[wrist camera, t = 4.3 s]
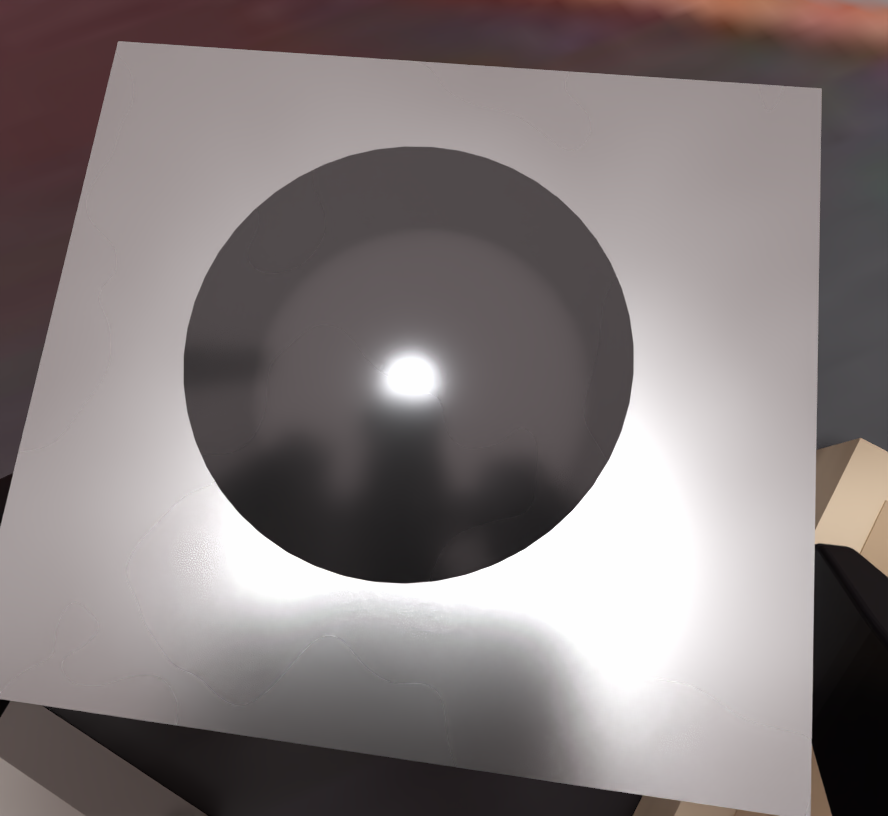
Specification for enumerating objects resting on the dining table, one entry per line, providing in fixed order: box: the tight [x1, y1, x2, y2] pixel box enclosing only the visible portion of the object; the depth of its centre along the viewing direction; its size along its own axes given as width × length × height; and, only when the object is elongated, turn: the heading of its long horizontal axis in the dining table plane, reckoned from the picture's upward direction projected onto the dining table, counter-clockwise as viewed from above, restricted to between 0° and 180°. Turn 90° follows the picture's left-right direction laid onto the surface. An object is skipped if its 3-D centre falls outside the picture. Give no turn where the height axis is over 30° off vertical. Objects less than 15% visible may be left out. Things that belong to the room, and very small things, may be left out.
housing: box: [0, 41, 822, 816], centre depth 11 cm, size 6×7×13 cm
